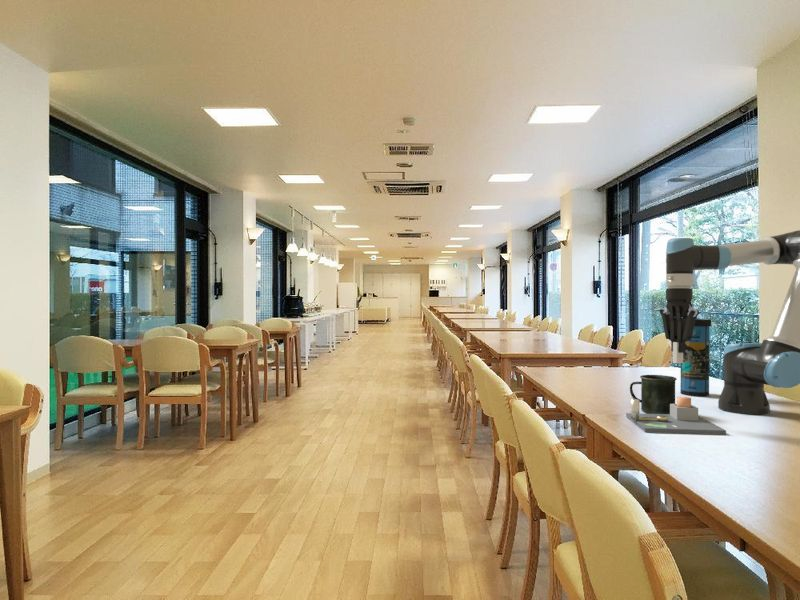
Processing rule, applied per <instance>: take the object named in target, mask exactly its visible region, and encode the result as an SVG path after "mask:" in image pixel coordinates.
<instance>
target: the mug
mask: <svg viewBox="0 0 800 600" xmlns="http://www.w3.org/2000/svg"><path fill="white" fill-rule="evenodd" d="M639 378H640V379H641V381H632V383H630V384H629V392H630V393H629V394H630V395H631V397H632V399H638V400H639V403H641V404H640V406H641V408H640V409H641V411H642V412H643V413H644V414H670V404H676V381H677V377H674V376H671V375H662V374H642V375H640V377H639ZM634 385H641V389H640V390H641V393H640V394H641V395H640V396H641V398H638V397H637V396H636V395H635V393H634V390H633V386H634Z"/></svg>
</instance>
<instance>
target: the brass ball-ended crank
mask: <svg viewBox="0 0 800 600" xmlns="http://www.w3.org/2000/svg"><path fill="white" fill-rule="evenodd" d="M638 399H639V398H638ZM638 399H633V398H631V399H630V413H631V419H632V420H659V421H668V417H667V416H657V417H639V413H640V402H639V400H638Z"/></svg>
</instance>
